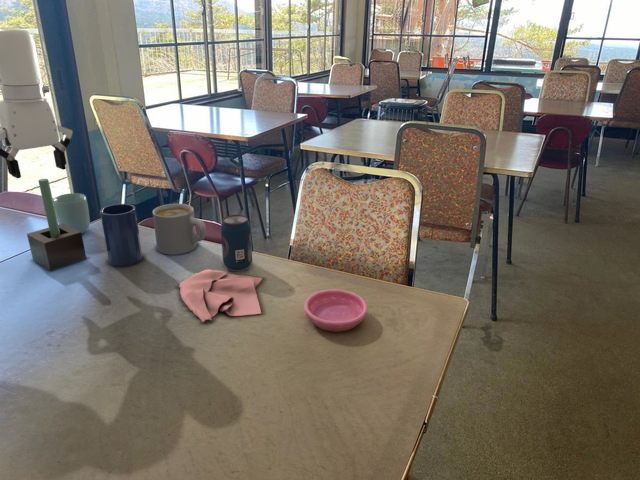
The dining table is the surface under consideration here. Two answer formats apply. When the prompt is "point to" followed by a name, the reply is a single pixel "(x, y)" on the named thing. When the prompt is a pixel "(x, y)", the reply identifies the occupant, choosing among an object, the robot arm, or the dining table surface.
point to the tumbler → (121, 234)
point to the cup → (72, 211)
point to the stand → (56, 247)
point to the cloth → (220, 294)
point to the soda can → (236, 242)
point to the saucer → (335, 310)
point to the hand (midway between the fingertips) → (39, 172)
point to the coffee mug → (176, 228)
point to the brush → (49, 207)
